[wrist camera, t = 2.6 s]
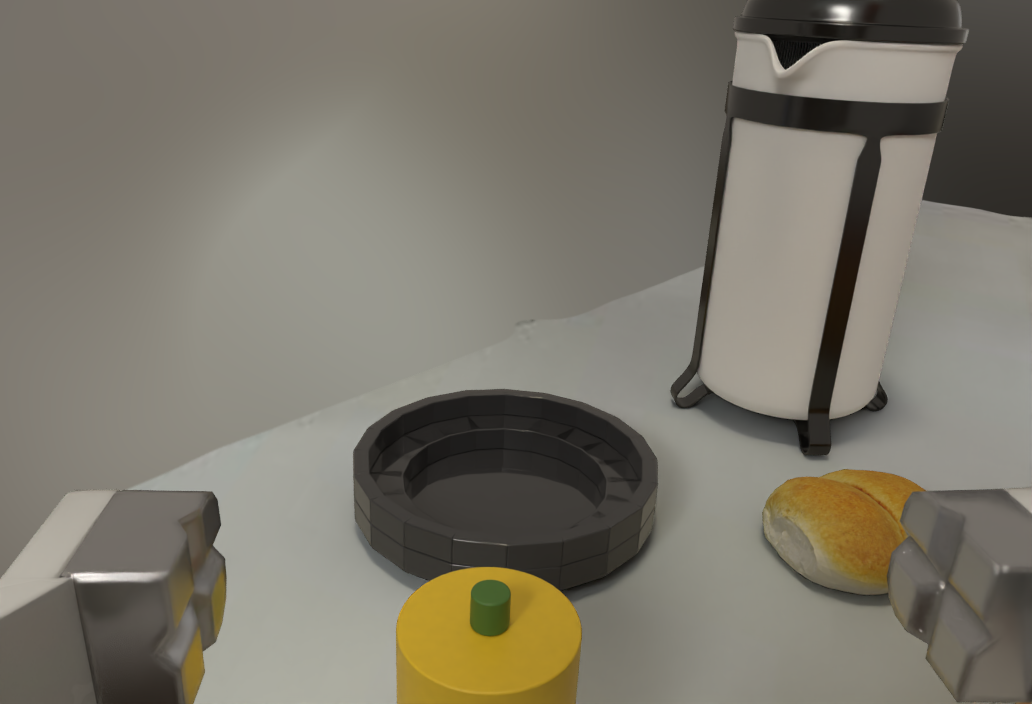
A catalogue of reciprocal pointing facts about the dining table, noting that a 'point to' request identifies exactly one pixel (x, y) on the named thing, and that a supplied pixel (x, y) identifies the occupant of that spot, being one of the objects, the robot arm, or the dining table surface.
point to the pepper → (487, 641)
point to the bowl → (505, 486)
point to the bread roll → (839, 527)
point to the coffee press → (818, 203)
